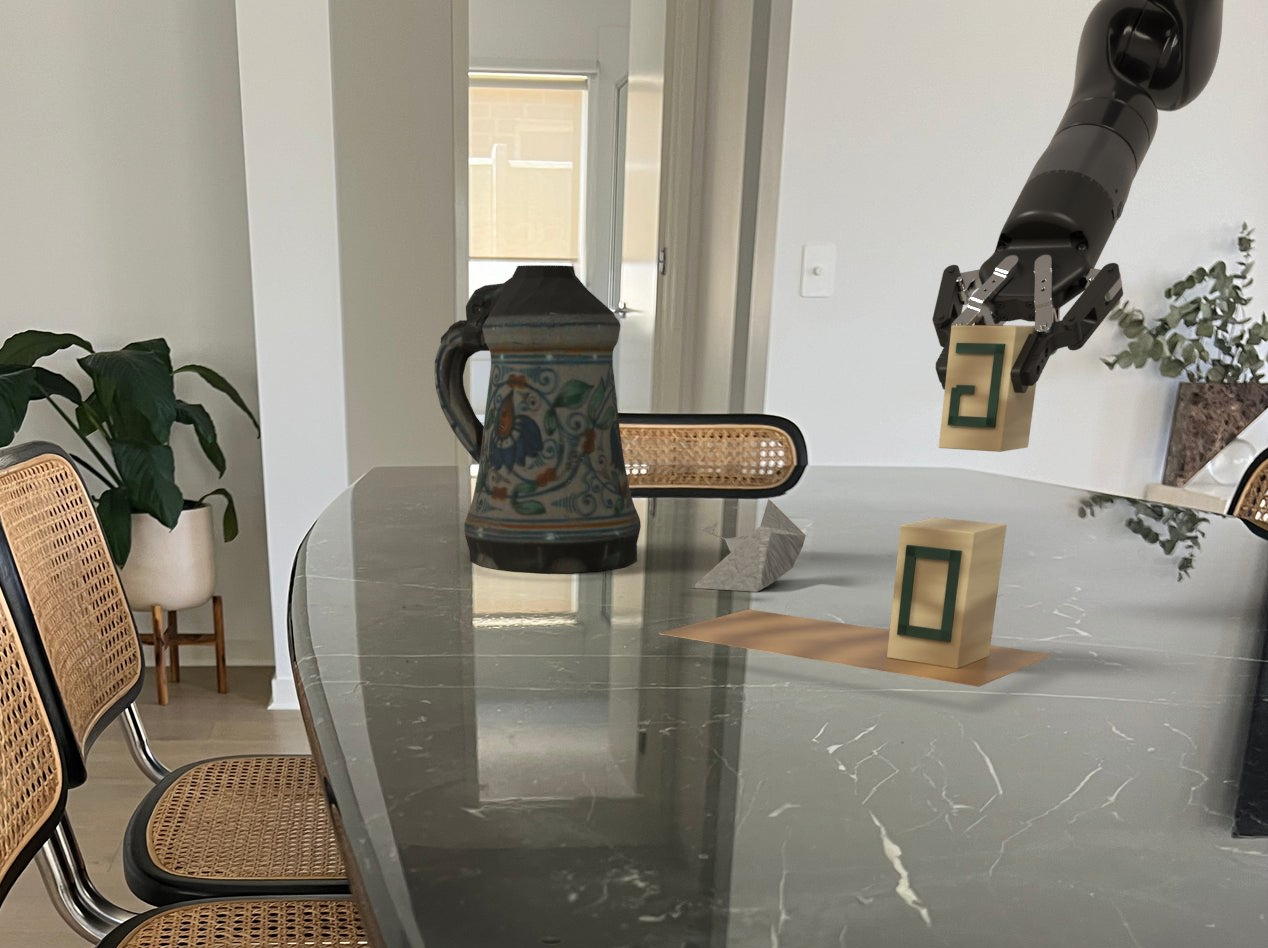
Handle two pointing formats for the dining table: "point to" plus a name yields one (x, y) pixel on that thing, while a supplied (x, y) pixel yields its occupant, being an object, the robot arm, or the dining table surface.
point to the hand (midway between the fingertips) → (981, 382)
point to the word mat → (844, 646)
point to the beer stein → (541, 426)
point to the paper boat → (757, 554)
